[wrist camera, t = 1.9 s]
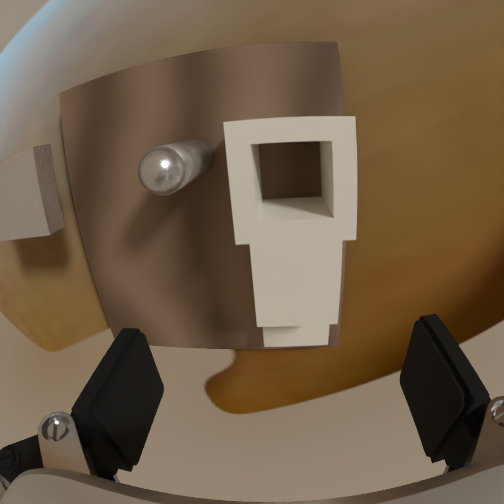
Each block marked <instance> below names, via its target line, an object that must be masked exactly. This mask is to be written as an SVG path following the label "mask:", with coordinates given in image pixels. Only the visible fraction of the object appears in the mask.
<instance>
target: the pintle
mask: <svg viewBox="0 0 504 504" xmlns="http://www.w3.org/2000/svg"><path fill="white" fill-rule="evenodd" d="M213 162H214V153H213V150H212V148H211V146H210V145H209V144H208V143H206V142H205V141H202V140H197V139H196V140H189V141H183V142H177V143H171V144H166V145H160V146H156V147H153V148H152V149H150V150H149V151H147V152H146V153H145V155H144V156H143V158H142V160H141V161H140V164H139V168H138V176H139V180H140V182H141V184H142V185H143V187H144V188H145V189H146V190H147V191H149V192H151V193H153V194H156V195H161V196H166V195H170V194H173V193H175V192H176V191H178V190H179V189H181V188H182V187H184V186H185V185H187V184H189V183H190V182H192V181H193V180H195V179H196V178H198V177H200V176H201V175H203V174H204V173H206V172H207V171H209V170H210V168H211V167H212V165H213Z"/></svg>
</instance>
